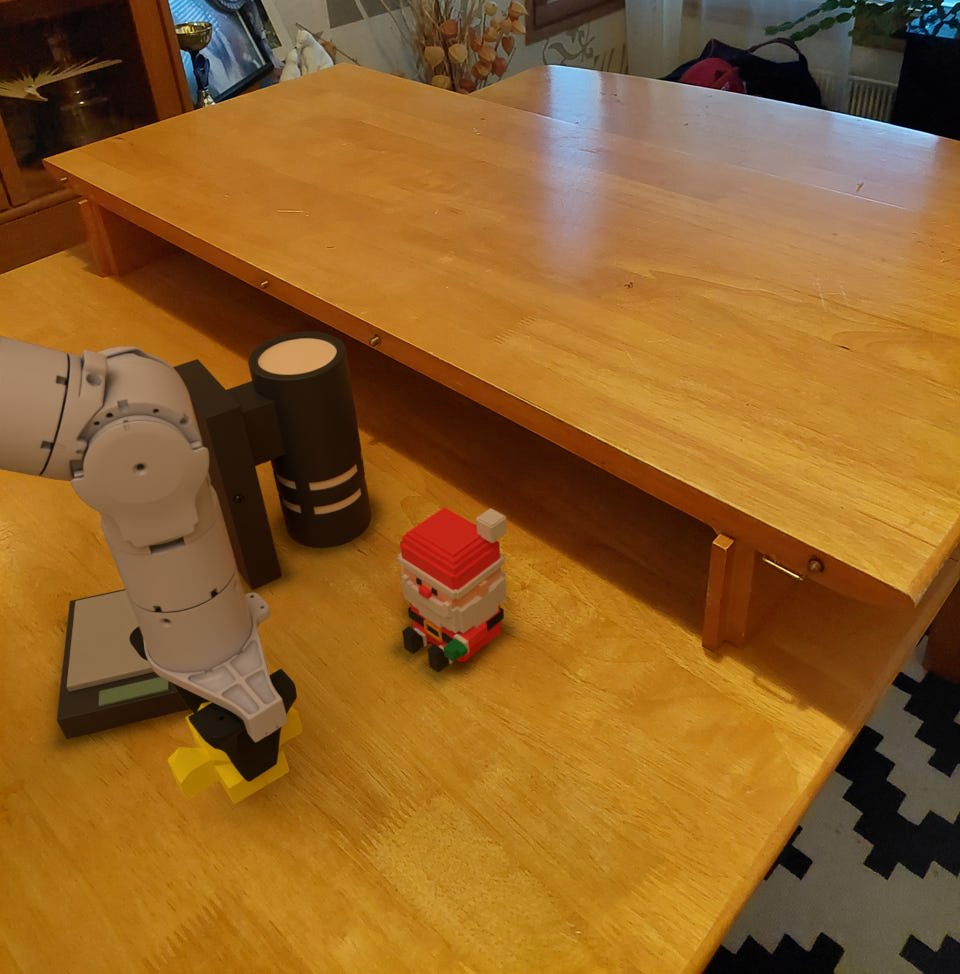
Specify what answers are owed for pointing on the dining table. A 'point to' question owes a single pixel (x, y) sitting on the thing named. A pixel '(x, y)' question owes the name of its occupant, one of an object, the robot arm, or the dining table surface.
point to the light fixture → (284, 448)
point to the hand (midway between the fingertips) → (234, 736)
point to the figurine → (453, 584)
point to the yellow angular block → (225, 764)
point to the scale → (108, 670)
